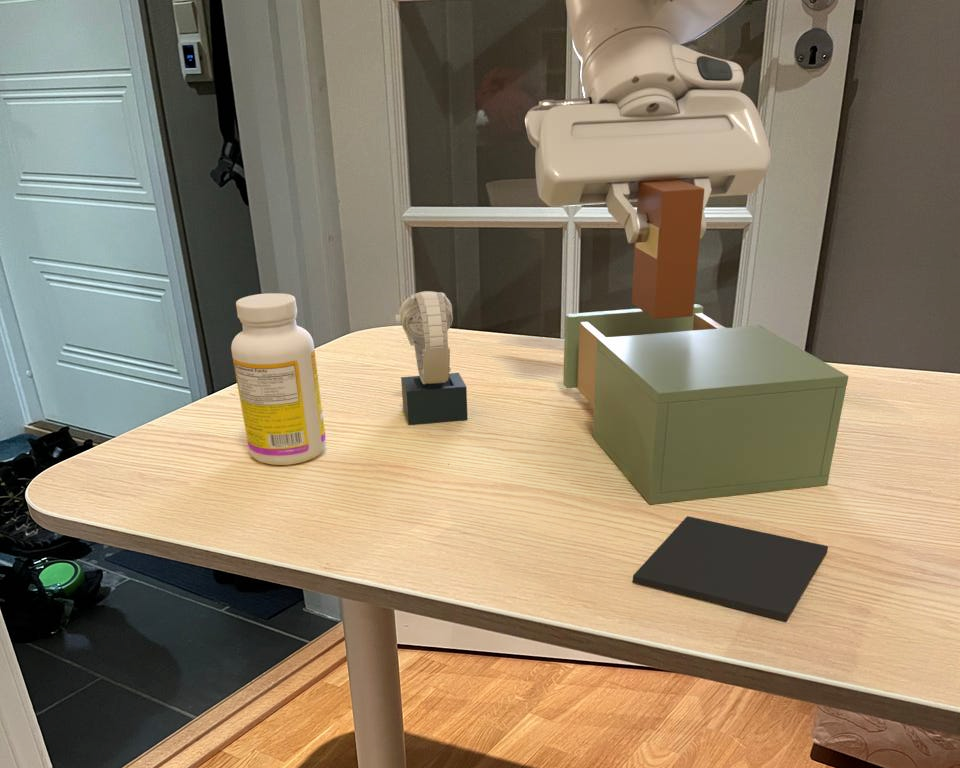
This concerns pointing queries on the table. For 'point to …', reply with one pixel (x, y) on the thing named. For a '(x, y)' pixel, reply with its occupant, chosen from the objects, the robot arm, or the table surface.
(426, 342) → the watch
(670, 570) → the slate mat
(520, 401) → the table surface
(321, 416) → the supplement bottle
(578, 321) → the drawer
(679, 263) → the brown rectangular block
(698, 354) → the cabinet
